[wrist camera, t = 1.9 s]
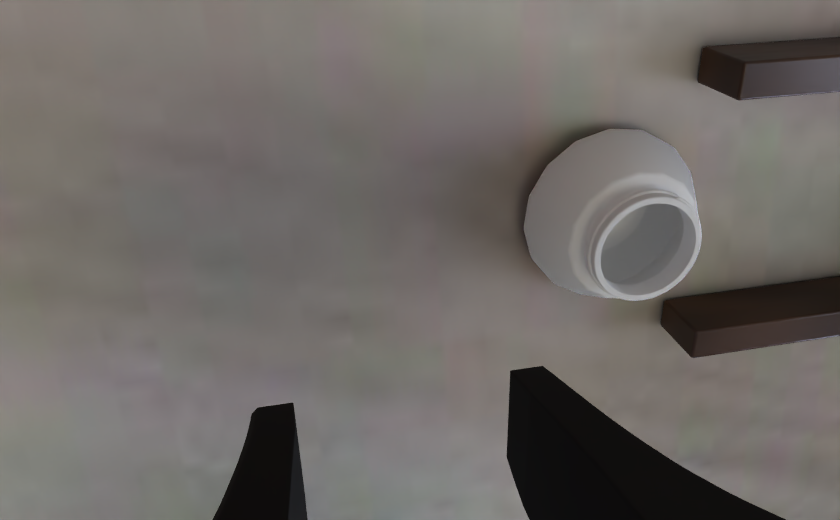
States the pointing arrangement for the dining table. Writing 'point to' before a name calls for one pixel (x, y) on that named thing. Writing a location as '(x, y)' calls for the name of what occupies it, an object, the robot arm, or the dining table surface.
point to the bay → (778, 304)
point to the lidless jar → (615, 217)
